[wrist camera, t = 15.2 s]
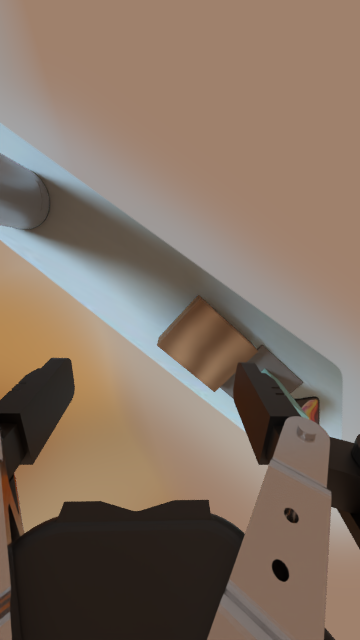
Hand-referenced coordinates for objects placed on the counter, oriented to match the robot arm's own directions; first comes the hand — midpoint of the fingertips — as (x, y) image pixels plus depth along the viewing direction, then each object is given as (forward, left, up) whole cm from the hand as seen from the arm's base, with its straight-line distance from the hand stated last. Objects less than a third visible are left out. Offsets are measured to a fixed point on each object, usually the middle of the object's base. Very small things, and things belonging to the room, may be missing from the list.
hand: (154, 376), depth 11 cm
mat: (+18, -19, -31) cm, 40 cm away
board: (+6, -10, -31) cm, 33 cm away
